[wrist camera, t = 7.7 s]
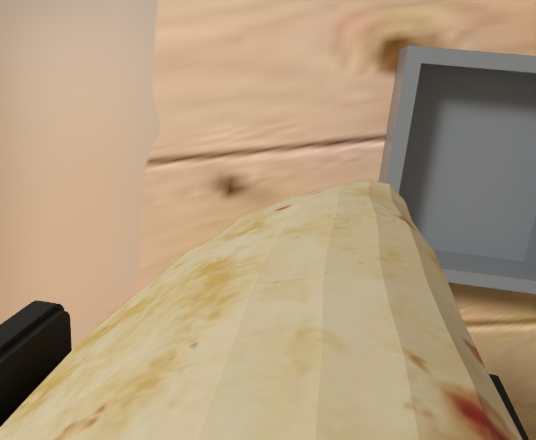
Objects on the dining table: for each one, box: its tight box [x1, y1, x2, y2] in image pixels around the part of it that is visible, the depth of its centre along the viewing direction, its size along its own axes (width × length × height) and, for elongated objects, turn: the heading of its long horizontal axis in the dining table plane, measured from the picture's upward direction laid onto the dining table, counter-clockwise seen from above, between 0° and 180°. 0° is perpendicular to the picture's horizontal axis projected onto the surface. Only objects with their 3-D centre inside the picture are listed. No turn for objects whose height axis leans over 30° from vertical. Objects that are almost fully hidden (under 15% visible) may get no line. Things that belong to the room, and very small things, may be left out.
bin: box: [379, 46, 536, 294], centre depth 35 cm, size 13×16×5 cm
